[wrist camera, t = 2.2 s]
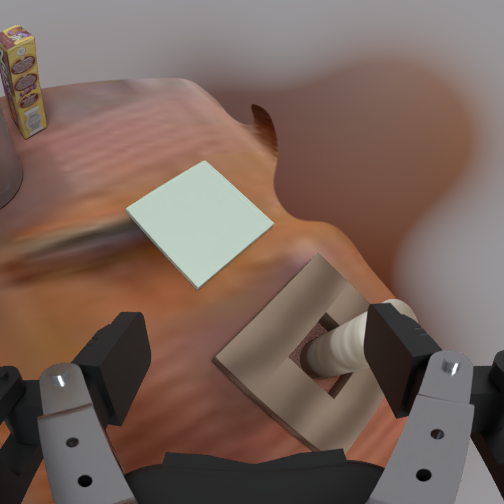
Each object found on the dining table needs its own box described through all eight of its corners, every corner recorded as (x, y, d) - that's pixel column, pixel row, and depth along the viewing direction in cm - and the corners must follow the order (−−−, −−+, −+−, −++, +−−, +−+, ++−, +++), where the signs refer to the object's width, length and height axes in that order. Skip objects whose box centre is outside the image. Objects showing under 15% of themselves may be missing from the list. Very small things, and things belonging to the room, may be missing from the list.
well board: (211, 360, 29) (215, 356, 27) (308, 262, 37) (318, 252, 35) (325, 461, 27) (337, 464, 24) (399, 352, 35) (412, 347, 32)
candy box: (50, 126, 36) (35, 36, 23) (26, 140, 34) (3, 51, 21) (31, 102, 37) (19, 22, 24) (10, 115, 35) (-8, 35, 22)
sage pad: (126, 212, 34) (125, 208, 33) (203, 164, 40) (204, 160, 39) (197, 290, 32) (198, 287, 31) (271, 227, 38) (274, 223, 37)
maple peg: (291, 360, 31) (364, 329, 20) (316, 331, 33) (390, 287, 22) (321, 387, 30) (403, 369, 19) (344, 357, 32) (426, 325, 21)
